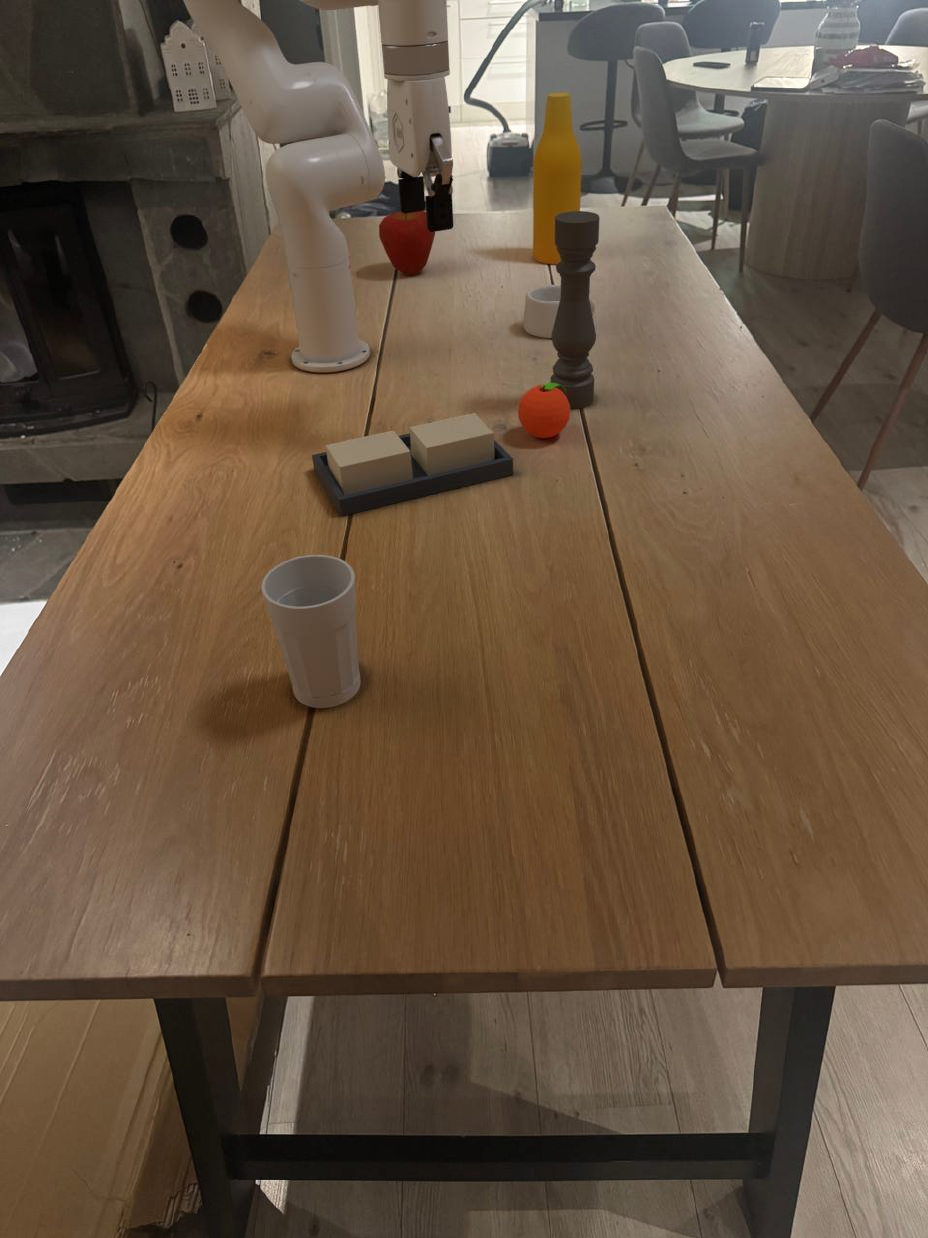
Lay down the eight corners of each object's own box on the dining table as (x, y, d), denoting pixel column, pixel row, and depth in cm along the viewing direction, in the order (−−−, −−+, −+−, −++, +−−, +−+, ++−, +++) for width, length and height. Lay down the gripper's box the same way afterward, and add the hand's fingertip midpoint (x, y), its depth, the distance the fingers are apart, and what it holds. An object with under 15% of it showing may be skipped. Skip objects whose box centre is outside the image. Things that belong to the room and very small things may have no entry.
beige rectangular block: (411, 455, 120) (409, 426, 118) (475, 440, 123) (474, 412, 121) (428, 476, 116) (426, 447, 113) (494, 461, 118) (493, 432, 116)
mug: (526, 341, 152) (526, 304, 148) (520, 320, 160) (520, 285, 156) (598, 336, 152) (600, 300, 148) (589, 316, 160) (591, 280, 156)
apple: (406, 261, 189) (401, 198, 182) (448, 268, 184) (445, 204, 176) (371, 276, 182) (364, 211, 175) (414, 285, 177) (409, 218, 170)
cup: (287, 661, 90) (265, 558, 82) (369, 654, 90) (355, 550, 83) (281, 718, 83) (257, 612, 76) (369, 710, 84) (354, 604, 76)
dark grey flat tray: (314, 470, 120) (311, 454, 119) (474, 434, 126) (474, 418, 125) (341, 516, 111) (338, 499, 109) (513, 474, 117) (513, 458, 115)
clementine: (546, 416, 130) (547, 367, 125) (585, 431, 125) (587, 381, 121) (507, 436, 125) (506, 386, 121) (546, 452, 121) (546, 401, 117)
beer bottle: (580, 264, 183) (586, 97, 165) (533, 265, 183) (534, 99, 165) (576, 250, 190) (581, 88, 172) (531, 251, 190) (532, 91, 172)
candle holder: (591, 410, 130) (599, 223, 115) (547, 408, 132) (549, 223, 116) (595, 391, 135) (603, 210, 120) (553, 389, 136) (555, 210, 121)
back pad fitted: (329, 473, 118) (325, 444, 115) (396, 458, 120) (393, 429, 118) (343, 496, 113) (339, 467, 110) (413, 479, 115) (410, 451, 113)
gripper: (361, 56, 110) (376, 209, 121) (410, 73, 97) (422, 242, 108) (421, 50, 112) (430, 201, 123) (476, 66, 99) (481, 232, 110)
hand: (426, 220), depth 115 cm, fingers open, 9 cm apart
